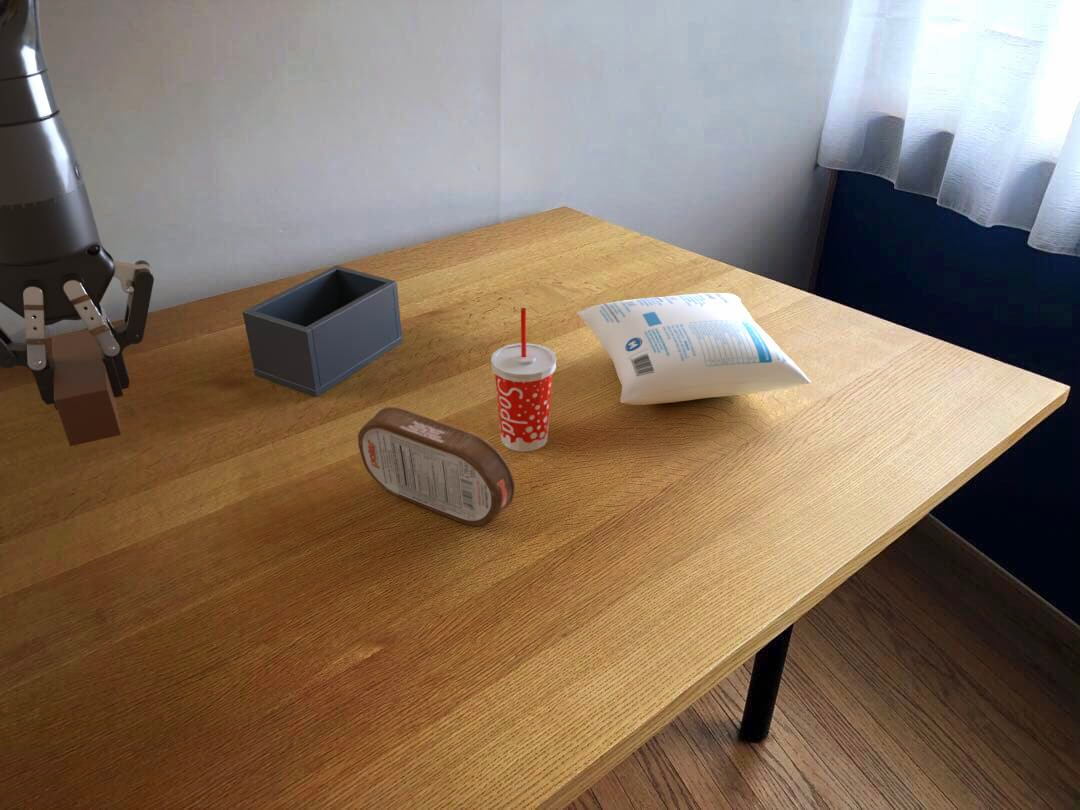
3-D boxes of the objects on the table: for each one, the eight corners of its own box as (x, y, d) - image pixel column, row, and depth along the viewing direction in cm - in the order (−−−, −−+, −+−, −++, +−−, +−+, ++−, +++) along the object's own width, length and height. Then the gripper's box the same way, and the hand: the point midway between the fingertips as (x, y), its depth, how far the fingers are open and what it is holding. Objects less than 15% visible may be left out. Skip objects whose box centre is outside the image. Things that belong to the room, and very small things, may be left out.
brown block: (65, 378, 71) (51, 335, 69) (111, 369, 73) (98, 327, 71) (69, 446, 63) (54, 400, 61) (121, 435, 64) (107, 389, 62)
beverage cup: (481, 433, 85) (476, 304, 78) (533, 415, 88) (533, 289, 81) (514, 463, 81) (512, 330, 74) (567, 443, 84) (571, 313, 76)
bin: (316, 397, 91) (306, 331, 87) (254, 375, 95) (241, 311, 91) (402, 342, 102) (397, 281, 98) (343, 324, 106) (336, 265, 101)
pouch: (621, 364, 81) (818, 338, 84) (575, 288, 98) (741, 268, 101) (620, 434, 85) (808, 408, 88) (576, 350, 102) (736, 330, 105)
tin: (517, 523, 74) (516, 442, 69) (497, 544, 71) (495, 461, 67) (380, 469, 80) (371, 392, 76) (357, 487, 78) (347, 408, 73)
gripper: (129, 156, 64) (178, 359, 73) (-95, 180, 59) (-11, 396, 68) (138, 185, 58) (190, 401, 67) (-108, 215, 53) (-15, 445, 62)
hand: (89, 397), depth 68 cm, fingers closed on brown block, 3 cm apart
